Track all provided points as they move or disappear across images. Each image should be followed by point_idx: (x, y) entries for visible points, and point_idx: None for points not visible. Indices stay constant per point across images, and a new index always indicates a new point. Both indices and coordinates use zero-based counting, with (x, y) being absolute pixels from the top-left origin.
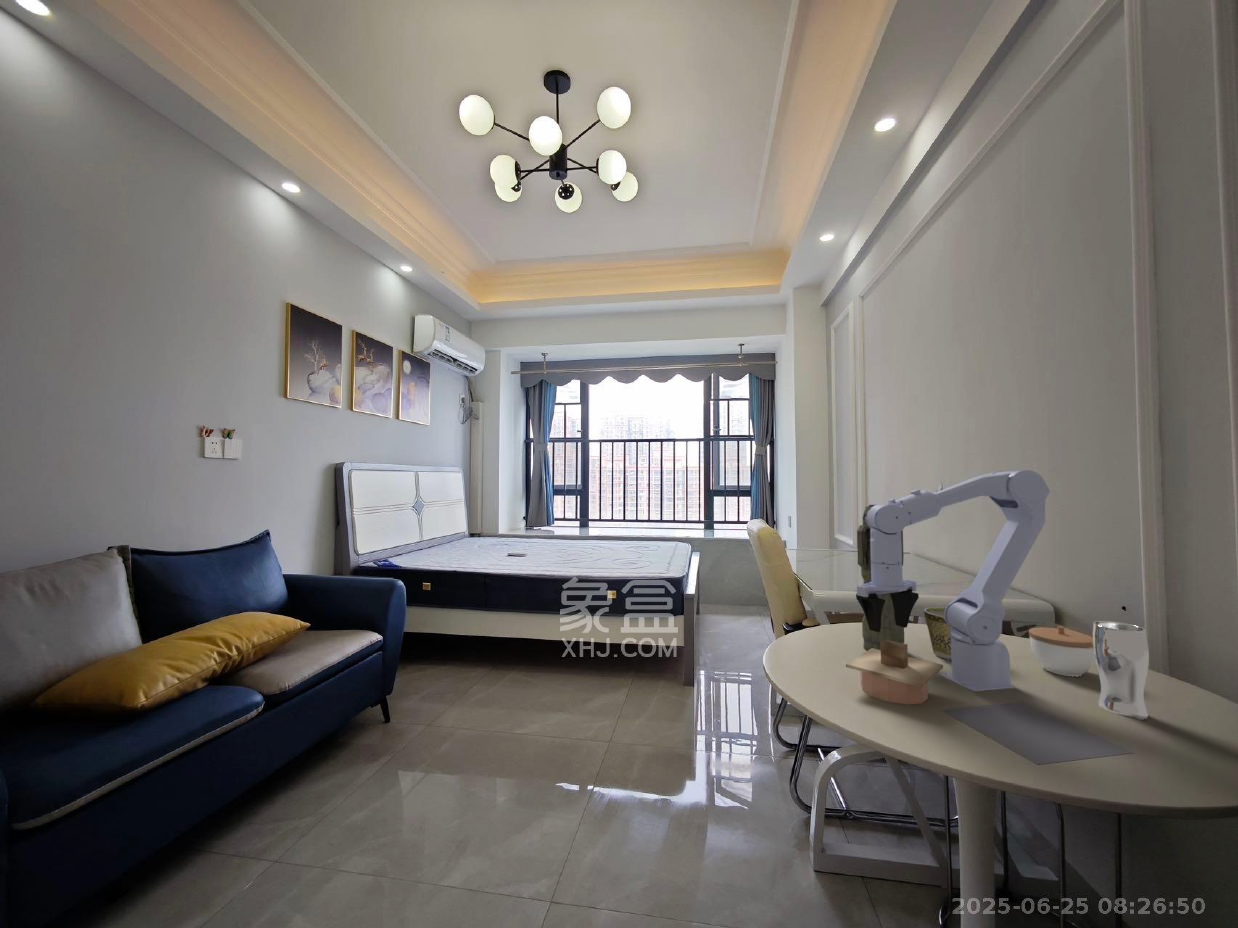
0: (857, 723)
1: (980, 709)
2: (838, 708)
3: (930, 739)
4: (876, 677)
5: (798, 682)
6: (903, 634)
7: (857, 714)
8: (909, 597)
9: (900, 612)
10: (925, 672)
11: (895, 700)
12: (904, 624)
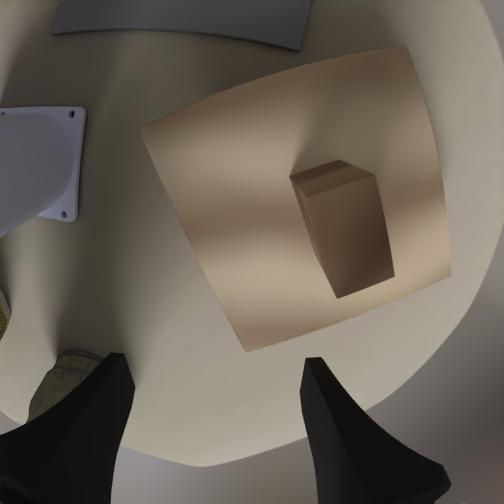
0: (494, 131)
1: (188, 14)
2: (477, 193)
3: (432, 13)
4: None
5: (433, 320)
6: (45, 382)
7: (471, 154)
8: (45, 478)
9: (106, 424)
10: (294, 94)
11: None
12: (119, 365)
